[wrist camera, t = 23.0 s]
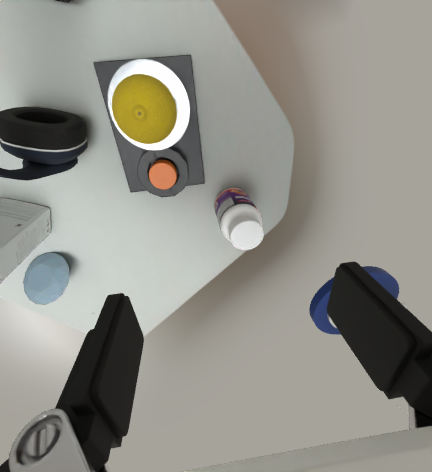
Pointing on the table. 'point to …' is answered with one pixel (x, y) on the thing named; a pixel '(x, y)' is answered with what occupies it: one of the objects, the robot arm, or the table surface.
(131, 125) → the lemon
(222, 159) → the table surface
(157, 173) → the tare button
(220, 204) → the pill bottle
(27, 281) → the gemstone
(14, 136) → the earphone
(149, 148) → the scale pan
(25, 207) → the cosmetic box
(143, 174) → the scale
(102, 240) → the table surface
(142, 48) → the table surface
